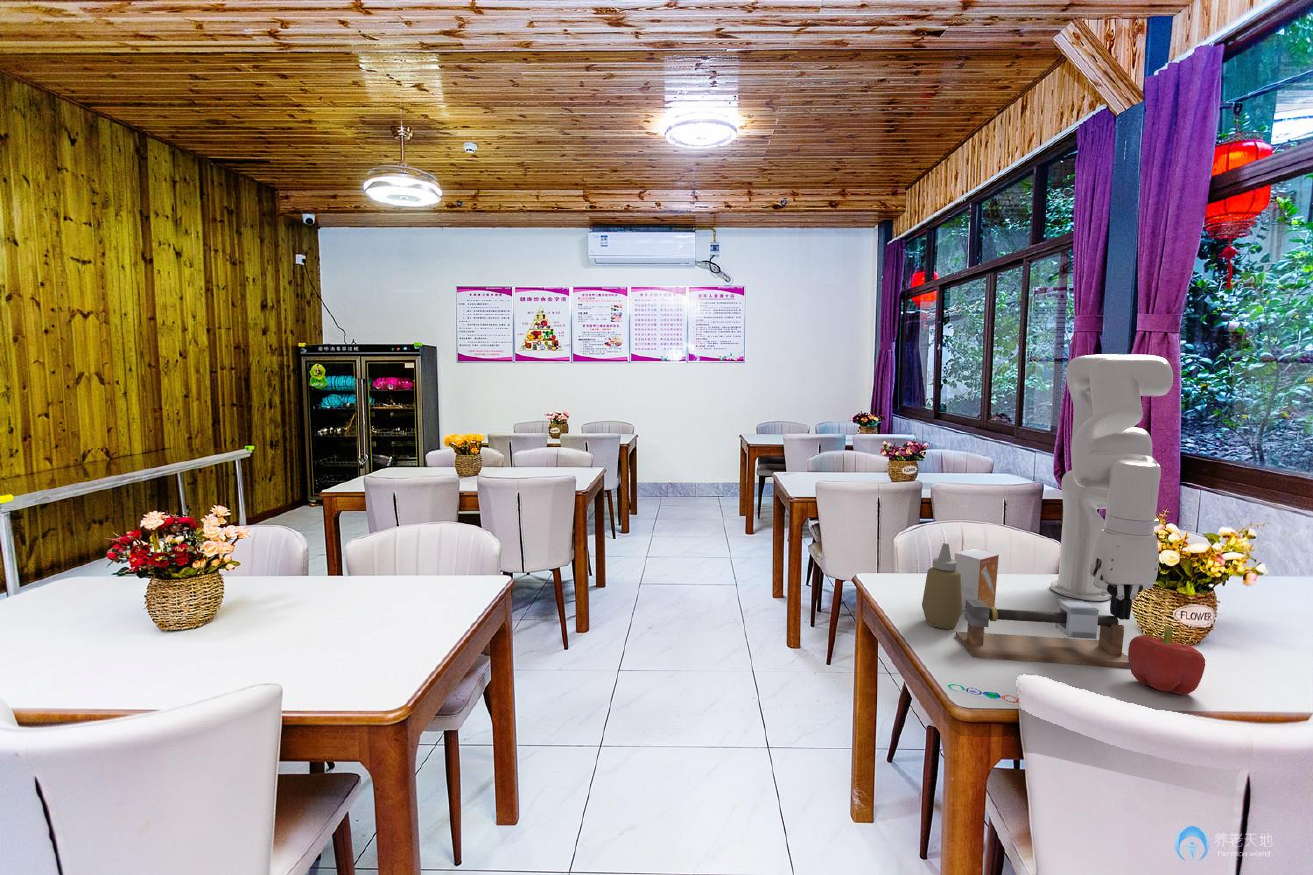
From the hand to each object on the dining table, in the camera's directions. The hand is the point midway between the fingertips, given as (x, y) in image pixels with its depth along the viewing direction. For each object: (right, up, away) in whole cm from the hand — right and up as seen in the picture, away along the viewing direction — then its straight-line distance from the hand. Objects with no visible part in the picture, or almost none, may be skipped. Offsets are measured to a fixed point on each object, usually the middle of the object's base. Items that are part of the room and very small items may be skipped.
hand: (1119, 616), depth 120 cm
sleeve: (-8, -4, +1) cm, 9 cm away
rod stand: (-14, -8, +2) cm, 16 cm away
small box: (-15, -6, +26) cm, 30 cm away
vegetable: (-1, -9, -11) cm, 15 cm away
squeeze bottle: (-28, -6, +15) cm, 32 cm away
